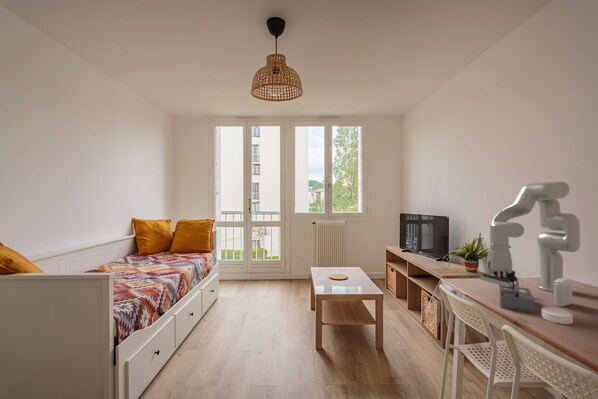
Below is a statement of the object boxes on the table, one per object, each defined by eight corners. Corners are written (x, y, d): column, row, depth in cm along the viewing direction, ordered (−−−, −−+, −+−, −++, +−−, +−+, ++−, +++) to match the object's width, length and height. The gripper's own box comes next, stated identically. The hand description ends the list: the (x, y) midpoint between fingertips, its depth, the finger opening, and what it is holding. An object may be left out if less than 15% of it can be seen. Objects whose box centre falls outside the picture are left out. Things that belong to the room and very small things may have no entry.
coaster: (541, 312, 127) (541, 305, 127) (572, 318, 121) (571, 310, 121) (541, 320, 120) (541, 312, 120) (574, 327, 113) (574, 318, 113)
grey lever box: (499, 296, 148) (498, 272, 148) (528, 300, 142) (528, 275, 142) (501, 307, 133) (500, 281, 133) (534, 313, 126) (533, 285, 126)
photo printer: (562, 300, 140) (562, 275, 140) (573, 303, 136) (573, 278, 136) (551, 304, 136) (551, 278, 136) (562, 307, 132) (562, 281, 132)
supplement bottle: (520, 295, 149) (520, 272, 149) (505, 294, 150) (505, 272, 150) (513, 291, 156) (513, 269, 156) (499, 290, 157) (499, 268, 157)
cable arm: (480, 279, 146) (480, 273, 146) (484, 278, 147) (484, 273, 147) (508, 287, 133) (508, 280, 133) (512, 286, 134) (512, 280, 134)
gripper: (509, 246, 145) (510, 282, 146) (479, 246, 146) (480, 282, 146) (520, 249, 138) (521, 286, 138) (488, 249, 139) (489, 287, 139)
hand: (500, 284), depth 142 cm, fingers closed
